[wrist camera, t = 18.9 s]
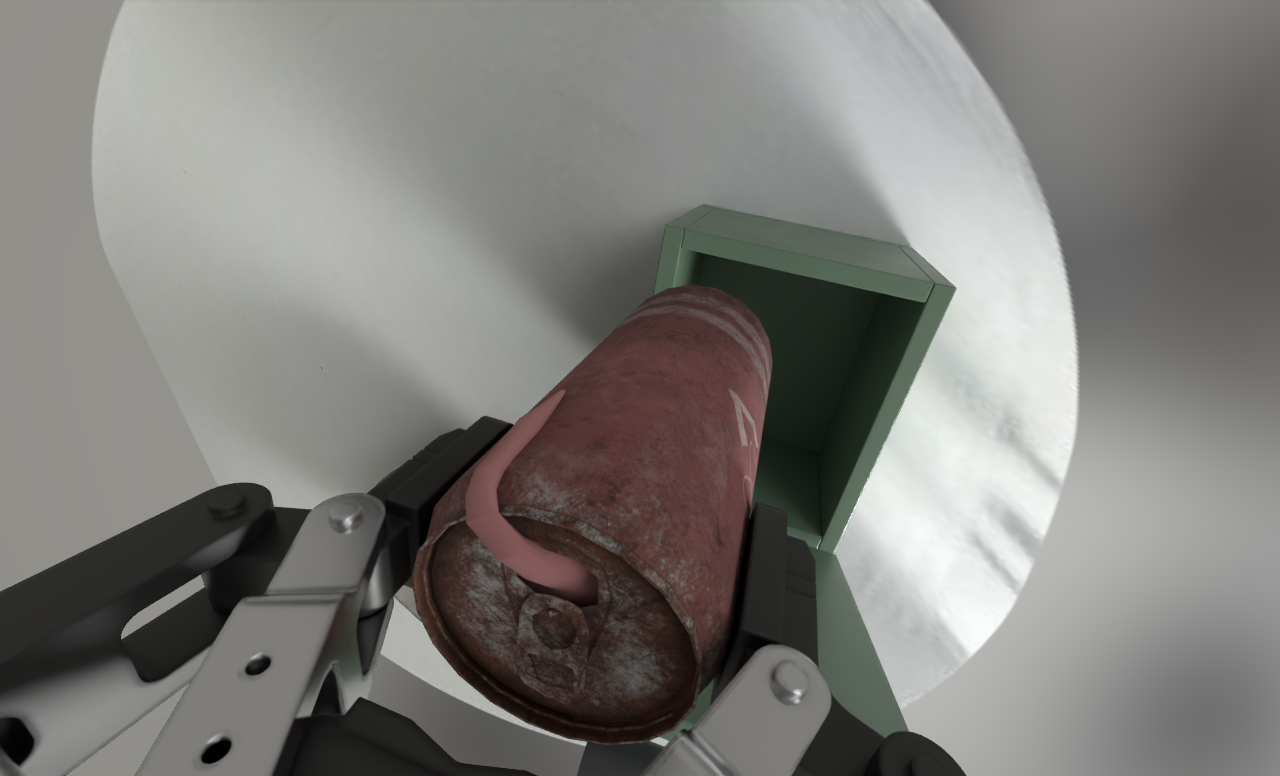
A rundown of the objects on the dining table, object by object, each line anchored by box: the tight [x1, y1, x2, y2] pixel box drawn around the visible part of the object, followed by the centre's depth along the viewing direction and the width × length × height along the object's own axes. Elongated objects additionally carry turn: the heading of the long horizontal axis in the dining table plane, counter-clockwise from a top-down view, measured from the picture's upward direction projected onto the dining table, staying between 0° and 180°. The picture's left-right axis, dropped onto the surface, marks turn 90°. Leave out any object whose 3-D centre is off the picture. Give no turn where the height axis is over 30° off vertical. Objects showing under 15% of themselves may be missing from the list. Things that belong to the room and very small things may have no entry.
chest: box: [653, 205, 956, 554], centre depth 33 cm, size 17×14×11 cm
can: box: [411, 285, 773, 745], centre depth 15 cm, size 6×6×14 cm
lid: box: [577, 546, 909, 776], centre depth 24 cm, size 18×14×5 cm
